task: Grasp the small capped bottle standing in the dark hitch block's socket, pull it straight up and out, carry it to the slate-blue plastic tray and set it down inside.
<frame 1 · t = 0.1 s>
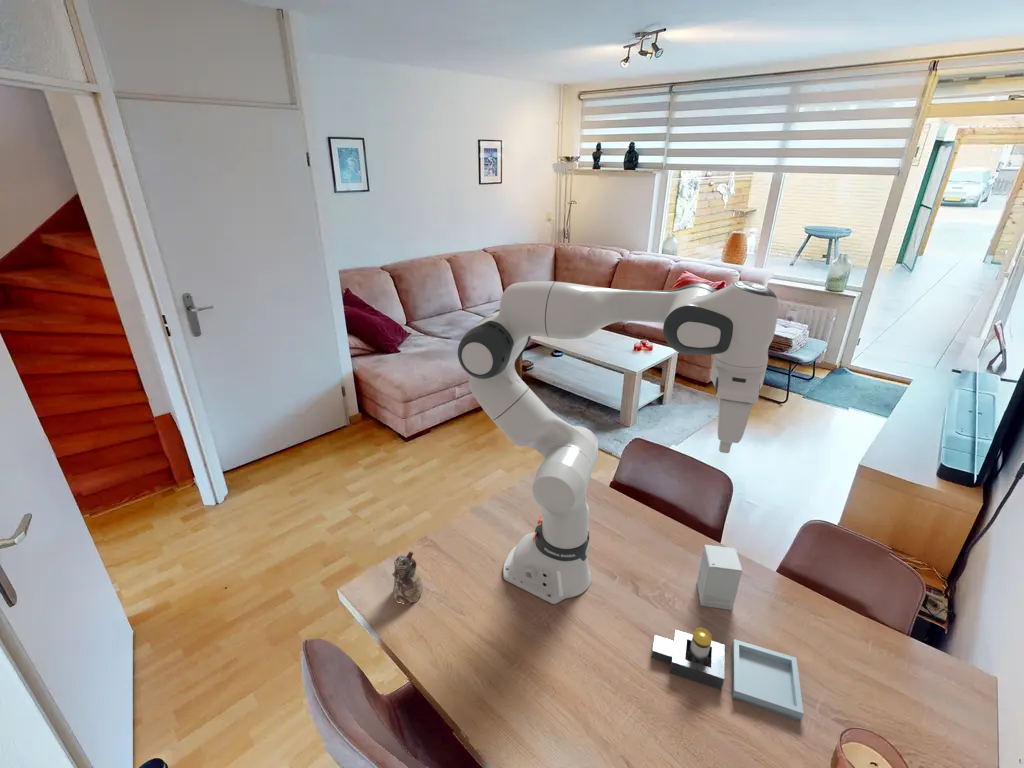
hand: (724, 438, 95), 48 cm above the table, fingers open, 8 cm apart
hitch block: (696, 664, 104), on the table
supplement box: (713, 596, 120), on the table
parts tray: (763, 681, 101), on the table
small capped bottle: (699, 649, 102), in the hitch block
figurine: (408, 593, 122), on the table
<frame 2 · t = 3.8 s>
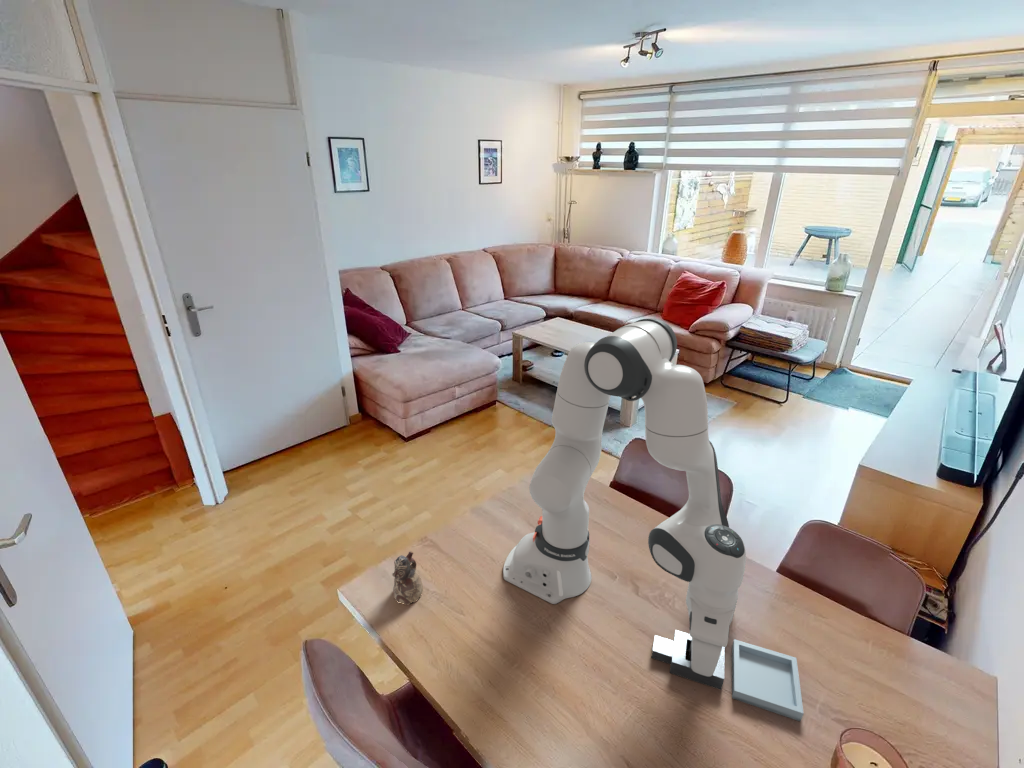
hand: (699, 647, 102), 5 cm above the table, fingers closed on small capped bottle, 4 cm apart
small capped bottle: (699, 649, 102), in the hitch block, touching gripper
everything else where it was.
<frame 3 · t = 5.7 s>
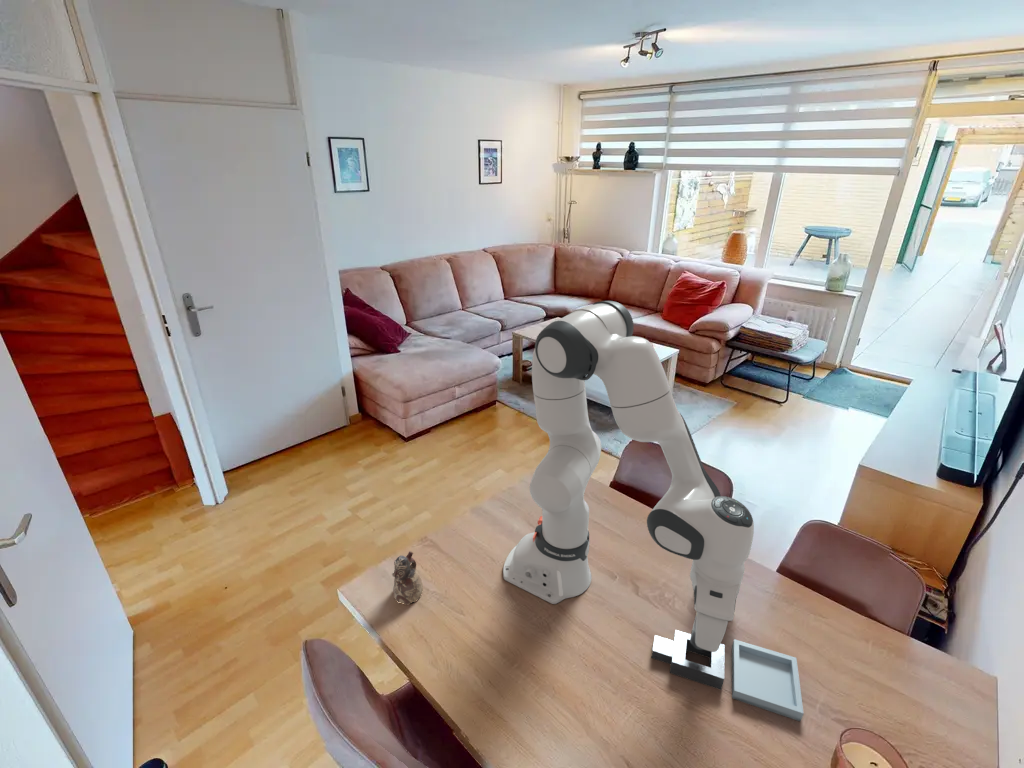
hand: (703, 624, 99), 12 cm above the table, fingers closed on small capped bottle, 4 cm apart
small capped bottle: (703, 627, 100), point 11 cm above the table, touching gripper
everything else where it was.
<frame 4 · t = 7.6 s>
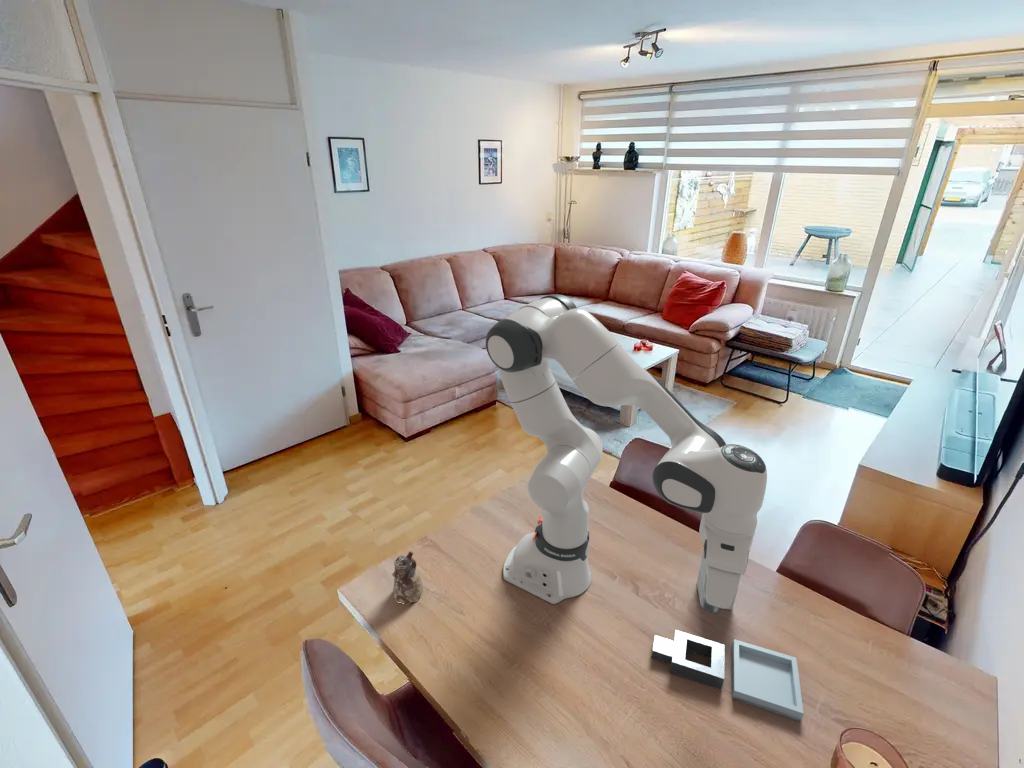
hand: (713, 585, 94), 23 cm above the table, fingers closed on small capped bottle, 4 cm apart
small capped bottle: (713, 587, 95), point 22 cm above the table, touching gripper
everything else where it was.
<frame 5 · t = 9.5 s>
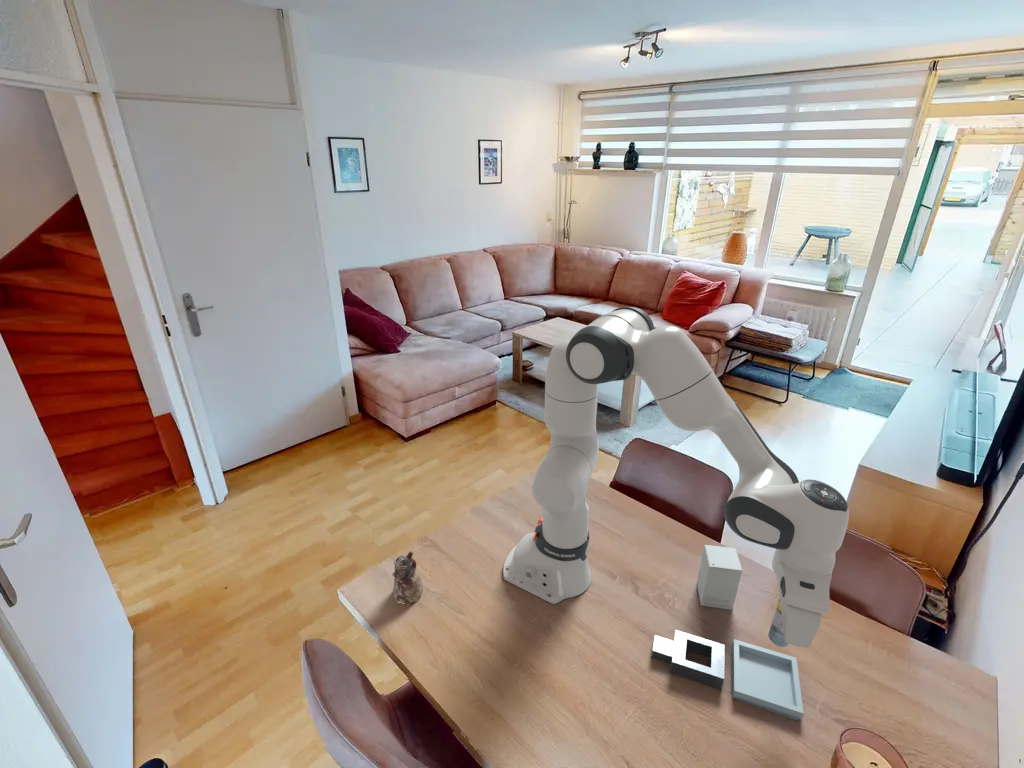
hand: (784, 620, 93), 18 cm above the table, fingers closed on small capped bottle, 4 cm apart
small capped bottle: (783, 622, 93), point 18 cm above the table, touching gripper
everything else where it was.
when the fingers open (7 cm above the table, at t = 11.3 s): small capped bottle drops 1 cm, resting on parts tray.
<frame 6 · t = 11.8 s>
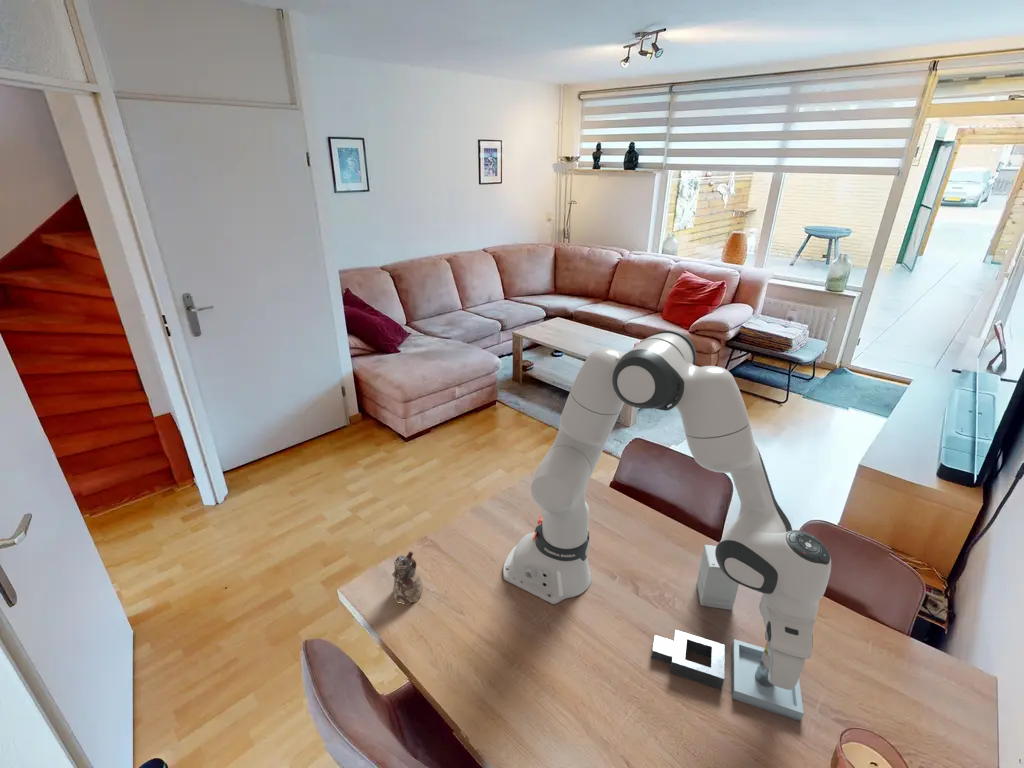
hand: (770, 658, 98), 7 cm above the table, fingers open, 8 cm apart
small capped bottle: (770, 663, 98), in the parts tray, point 5 cm above the table
everything else where it was.
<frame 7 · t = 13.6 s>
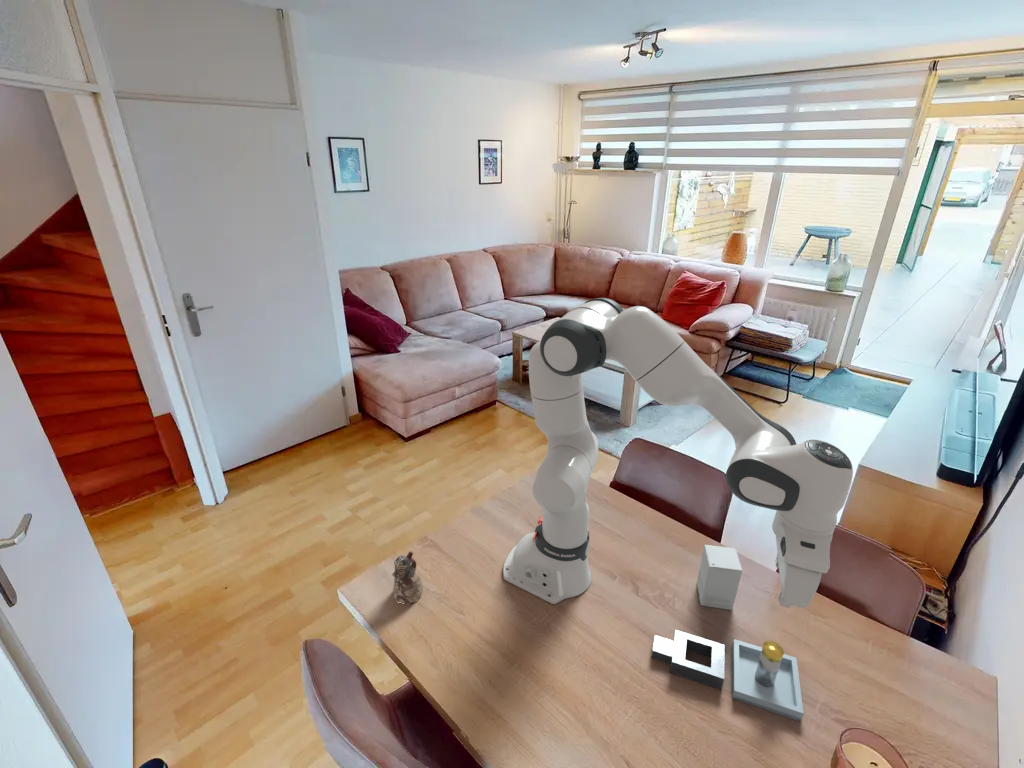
hand: (781, 583, 92), 25 cm above the table, fingers open, 8 cm apart
nothing on the table moved.
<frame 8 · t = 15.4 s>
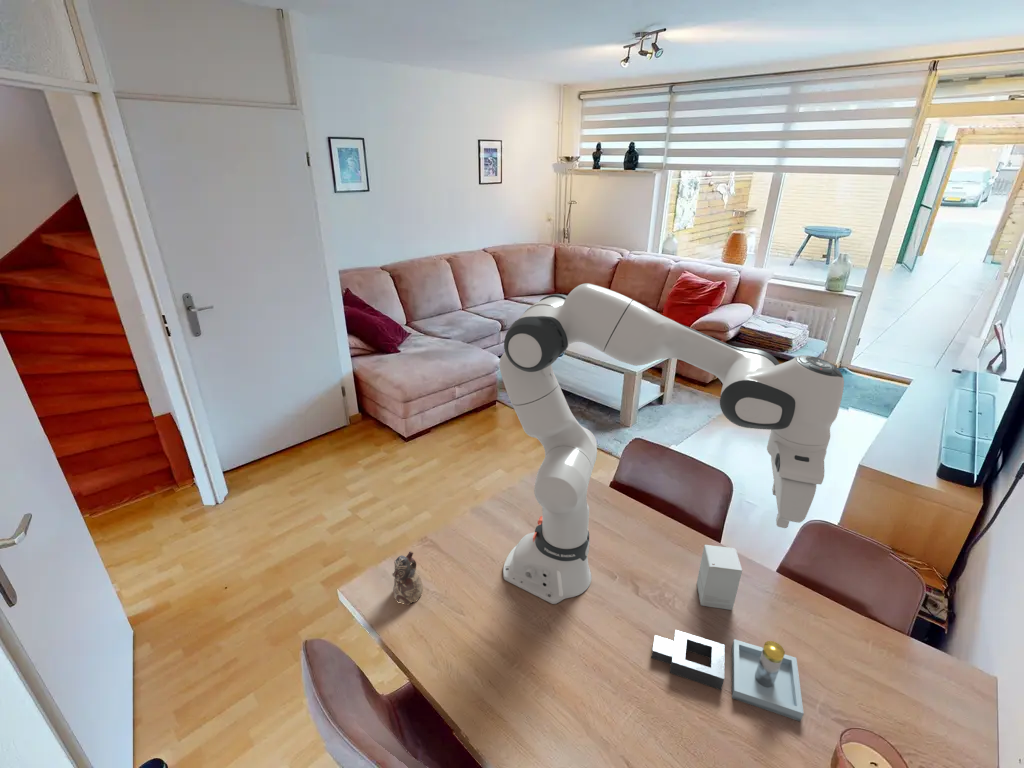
hand: (779, 508, 93), 37 cm above the table, fingers open, 8 cm apart
nothing on the table moved.
at the end: small capped bottle inside the target area on the parts tray (0.0 cm from its centre), point 5.3 cm above the parts tray's base; the gripper is holding nothing; small capped bottle touching parts tray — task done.
